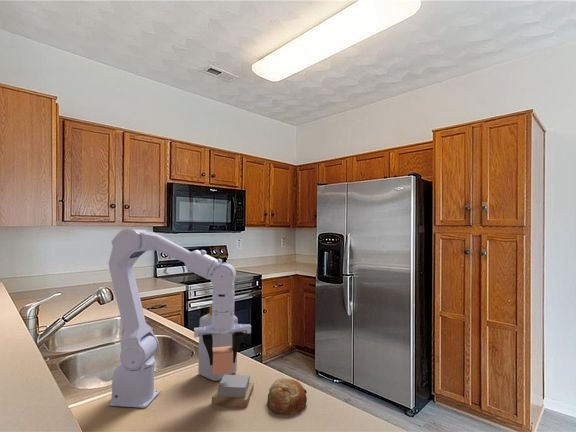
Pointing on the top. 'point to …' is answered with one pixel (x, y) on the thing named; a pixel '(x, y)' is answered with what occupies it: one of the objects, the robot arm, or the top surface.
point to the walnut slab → (233, 398)
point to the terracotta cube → (222, 360)
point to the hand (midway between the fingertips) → (222, 362)
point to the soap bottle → (218, 341)
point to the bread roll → (286, 396)
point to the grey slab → (233, 386)
